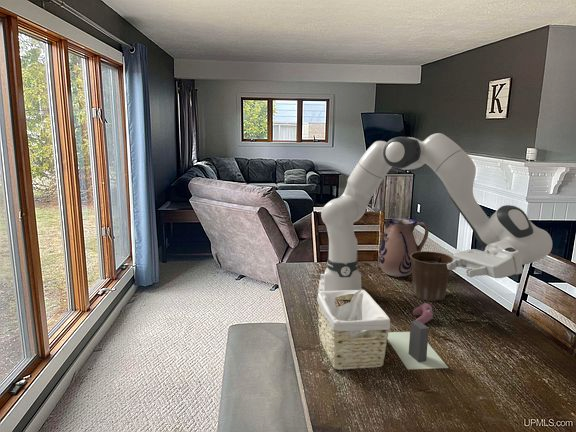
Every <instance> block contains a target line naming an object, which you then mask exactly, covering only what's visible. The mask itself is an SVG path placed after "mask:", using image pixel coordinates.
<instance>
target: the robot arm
mask: <svg viewBox="0 0 576 432" xmlns="http://www.w3.org/2000/svg"><path fill="white" fill-rule="evenodd" d="M426 166H428V167H429V168H430V169H431V170H432V171H433V172H434V173H435V175H437V177H438V179H440V181H442V183H443V185H444V186H445V188H446V190H447V192H448V195H449V197H450V200H451V202H452V203H453V205H455V207H456V209H457V210H458V211H459V213H460V215H461V216H462V218H464V220H465V221H466V223H467V224H468V226H470V228H471V230H472V231H473V234H474V235H475V239H476V241H477V243H478V244H479V246H480V247H482V249H484V250H480V249H475V248H471V249H467V250H463V251H459V252H455V253H454V254H453V255H452V257H453V262H451V263H448V264H447V269H449V270H450V271H454V270H456V269H457V268H462V269H465V270H466V272H465V273H466V277H469V278H474V277H479V276H488V277H490V278H493V279H503V278H507V277H510V276H514V275H521V274H522V273H523V272H524V271H523V265H525V266H526V265H529V264H532V263H536V262H537V261H539V260H542V259H544V258H545V257H547V256H548V255H549V254H550V253H551V252H552V249H553V240H552V239H553V238H552V237H551V235H550V233H549V232H547V231H546V230H544V229H542V228H540V227H538V226H536V225H535V224H534V223H533V222H532V221H531V220H530V219H529V216H528V215H527V214H526V213H525V211H524V210H523V209H522V208H520V207H518V206H515V205H510V204H507V205H502V206H500V207H499V208H498V209H497V210H496V211H494V213H493V214H492V215H490V218H489V217H488V215H487V214H486V213H485V211H484V210H483V208H482V207H481V206H480V205H479V203H478V202H477V201H476V199H475V196H474V183H475V178H476V164H475V163H474V161H473V159H472V158H471V157H470V156H469V154H467V152H466V151H464V150H463V148H462V147H460V145H458V143H456V142H455V141H453V140H452V139H451V138H450V137H448V136H447V135H445V134H443V133H441V132H438V133H436V132H435V133H433V134H430V135H429V136H427V137H426V138H425V139H424V140H423V139H418V138H416V137H412V136H411V137H410V136H409V137H408V136H397V137H393V138H391V139H389V140H388V141H385V140H376V141H374V142H373V143H372V144H371V145H370V146H369V147H368V148H367V150H366V151H365V152H364V154H362V156H361V158H360V159H359V160H358V162H357V164H355V167H354V169H353V170H352V171H351V174H350V175H348V177H347V183H346V187H345V189H344V191H343V193H342V194H341V195H340V196H339V197H337V198H333V199H331V200H330V201H328V202H327V203H326V204H325V205H324V206H322V209H321V211H320V212H321V213H320V215H321V220H322V222H323V224H325V226H326V227H325V228H326V231H327V235H328V258H327V261H326V268H325V270H324V273H320V277H319V278H320V279H319V282H318V290H317V294H318V293H320V292H321V291H343V290H365V289H364V288H362V273H361V272H360V271H359V270H358V269H359V268H358V267H359V259H358V242H359V241H358V238H357V237H356V235H355V230H354V224H355V223H356V222H358V221H360V219H361V218H362V217H363V216H364V214H365V213H366V210H367V208H368V205H369V204H370V201H371V199H372V197H373V196H374V194H375V192H376V191H377V189H378V188H379V186H380V185H381V183H382V182H383V180H384V179H385V178H386V176H387V174H388V173H389V171H390V170H391V169H392V168H393V169H394V168H395V169H399V170H406V171H410V170H419V169H423V168H424V167H426Z"/></svg>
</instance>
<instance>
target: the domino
mask: <svg viewBox="0 0 576 432" xmlns="http://www.w3.org/2000/svg"><path fill="white" fill-rule="evenodd" d="M409 327H410V329H409V332H410V340H409V355H411V356H412V357H413V358H414V359H415V360H416V361H417V362H424V361H426V358H427V345H428V344H429V330H430V329H429V328H430V327H429V326H427V325H426V324H423V323H421V322H420V321H415V320H413V321H410V326H409Z"/></svg>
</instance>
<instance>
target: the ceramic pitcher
mask: <svg viewBox="0 0 576 432" xmlns="http://www.w3.org/2000/svg"><path fill="white" fill-rule="evenodd" d="M418 226H421V227H423V228H424V229H423V230H424V235H423V238H422V240H421V242H420V243H419V244H417V242H416V238H415V236H414V235H415V234H414V230H415V228H416V227H418ZM428 237H429V227H428V225H427V224H426V223H425V222H423V221H422V222H421V221H416V220H414V219H408V218H400V217H399V218H398V217H394V218H392V219H385V220H384V231H383V236H382V239H381V243H380V246H379V250H378V254H377V262H378V265H379V267H380V269H381V270H382V272H383V273H385V274H386V275H387V276H390V277H394V278H395V277H396V278H401V277H408V276H409V275H411V274H412V265H411V257H410V255H411V254H412V253H414V252H420V251H422V250H423V247H424V245H426V242H427V239H428Z"/></svg>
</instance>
